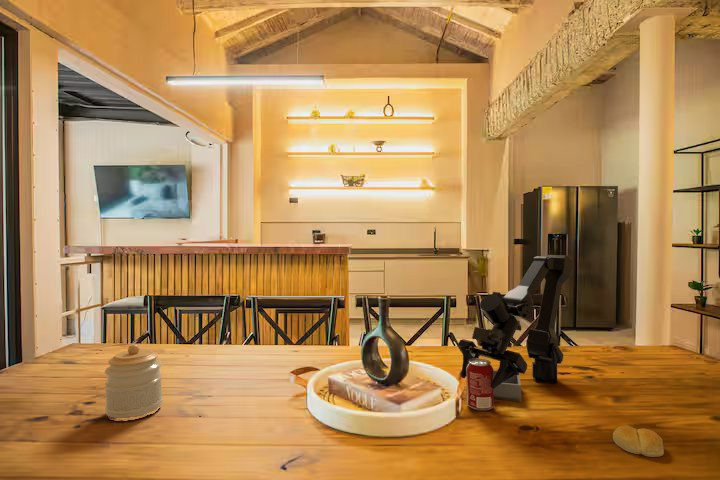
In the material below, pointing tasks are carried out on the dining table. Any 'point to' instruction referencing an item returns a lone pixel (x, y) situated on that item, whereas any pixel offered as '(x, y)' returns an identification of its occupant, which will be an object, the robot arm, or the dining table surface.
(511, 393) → the grey crate
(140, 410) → the jar
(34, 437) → the dining table surface
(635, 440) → the bread roll
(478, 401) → the soda can
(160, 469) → the dining table surface
